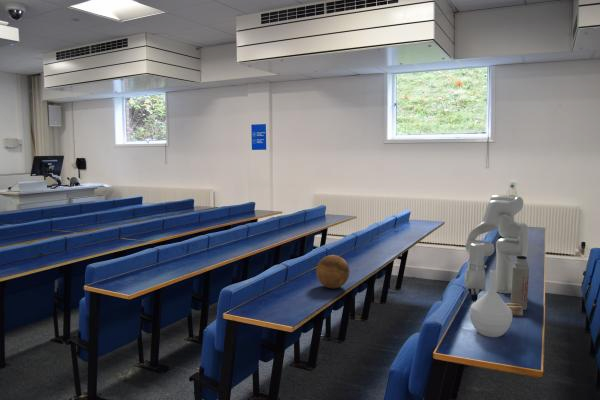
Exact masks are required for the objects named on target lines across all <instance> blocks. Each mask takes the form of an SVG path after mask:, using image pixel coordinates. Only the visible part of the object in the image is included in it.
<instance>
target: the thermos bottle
mask: <svg viewBox="0 0 600 400" xmlns="http://www.w3.org/2000/svg"><path fill="white" fill-rule="evenodd" d="M527 258H528V257H527V256H516V260H515V261H514V266H513V273H512V290H511V293H510V294H511V295H510V303H516V304H520V305H521V306H522V307H523V310H527V308H528V294H529V293H528V292H529V281H530V280H529V278H530V267H529V262H528V261H527Z"/></svg>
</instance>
